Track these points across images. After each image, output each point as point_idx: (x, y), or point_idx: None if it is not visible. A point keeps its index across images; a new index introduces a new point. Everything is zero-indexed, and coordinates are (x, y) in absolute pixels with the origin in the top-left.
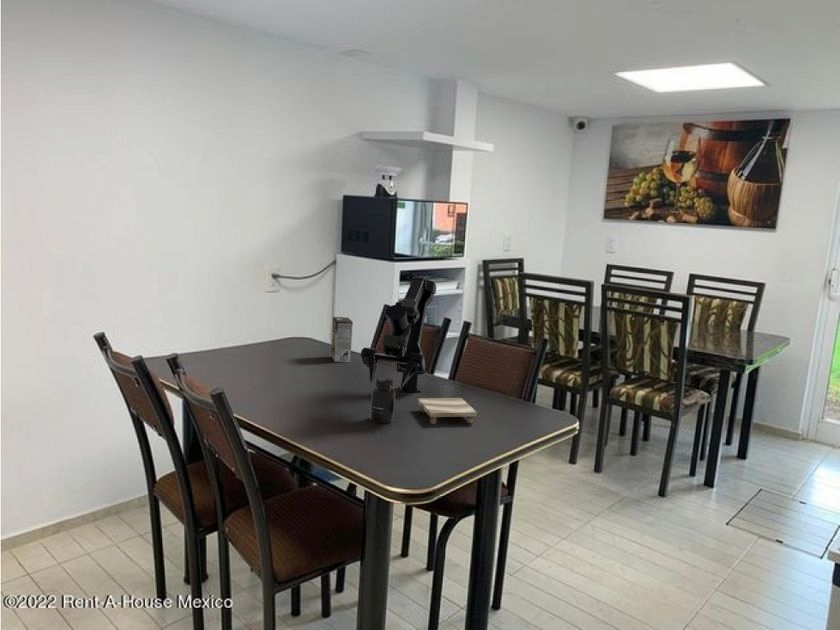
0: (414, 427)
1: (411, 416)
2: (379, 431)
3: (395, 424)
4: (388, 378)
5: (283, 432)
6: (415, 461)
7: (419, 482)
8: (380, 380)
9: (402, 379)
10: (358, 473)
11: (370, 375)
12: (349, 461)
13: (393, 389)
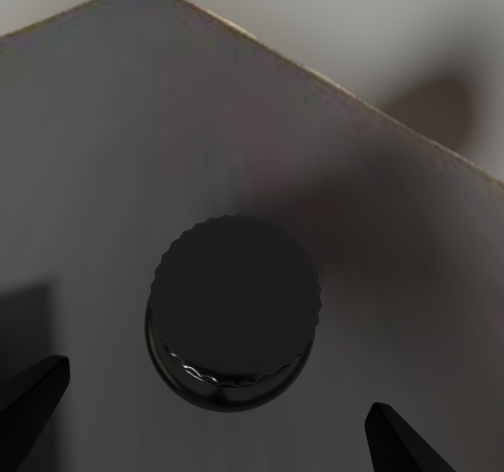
0: (86, 280)
1: (74, 447)
2: (221, 214)
3: None
4: (201, 362)
5: (453, 165)
6: (123, 62)
7: (126, 4)
8: (273, 247)
9: (12, 397)
10: (236, 26)
11: (431, 451)
12: (262, 58)
13: (155, 338)
